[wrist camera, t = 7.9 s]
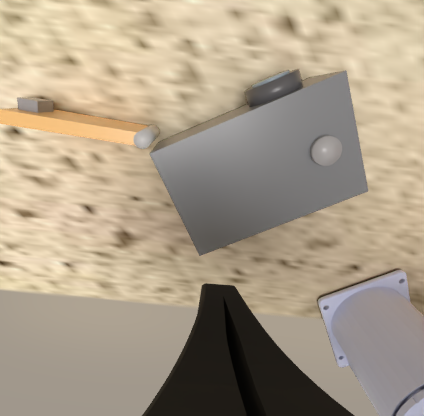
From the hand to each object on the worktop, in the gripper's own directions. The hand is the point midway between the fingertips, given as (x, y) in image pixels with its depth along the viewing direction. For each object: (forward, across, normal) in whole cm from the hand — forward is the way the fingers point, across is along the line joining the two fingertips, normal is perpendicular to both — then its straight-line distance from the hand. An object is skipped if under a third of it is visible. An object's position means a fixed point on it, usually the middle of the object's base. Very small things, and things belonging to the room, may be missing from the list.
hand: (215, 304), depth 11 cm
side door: (+10, +8, -6) cm, 14 cm away
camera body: (+10, -3, -4) cm, 12 cm away
